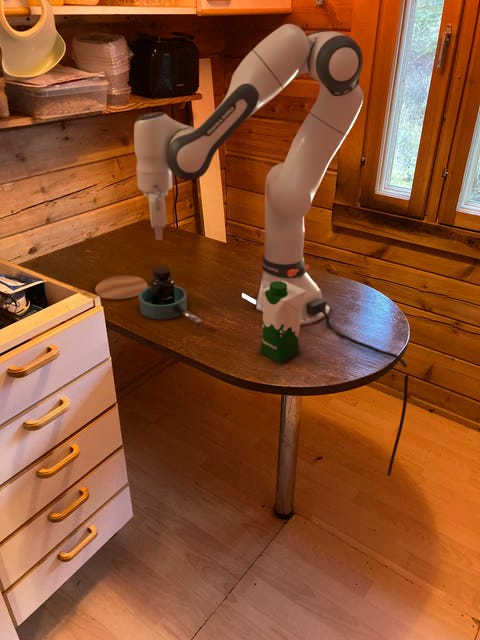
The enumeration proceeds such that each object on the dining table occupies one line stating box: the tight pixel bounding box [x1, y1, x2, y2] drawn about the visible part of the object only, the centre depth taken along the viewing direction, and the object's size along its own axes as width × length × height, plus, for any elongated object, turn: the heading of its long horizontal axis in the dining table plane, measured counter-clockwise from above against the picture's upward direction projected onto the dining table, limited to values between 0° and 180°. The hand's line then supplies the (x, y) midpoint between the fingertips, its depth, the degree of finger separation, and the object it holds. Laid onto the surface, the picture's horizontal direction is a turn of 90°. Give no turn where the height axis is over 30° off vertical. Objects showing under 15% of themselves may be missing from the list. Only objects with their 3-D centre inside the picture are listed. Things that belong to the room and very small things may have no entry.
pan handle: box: [174, 304, 203, 327], centre depth 139 cm, size 12×2×2 cm, turn 41°
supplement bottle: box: [149, 266, 175, 305], centre depth 146 cm, size 7×7×12 cm
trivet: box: [94, 275, 149, 301], centre depth 159 cm, size 16×16×1 cm
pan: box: [138, 284, 188, 321], centre depth 148 cm, size 14×14×4 cm
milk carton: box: [259, 281, 306, 365], centre depth 125 cm, size 9×9×20 cm
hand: (158, 232), depth 137 cm, fingers open, 8 cm apart
